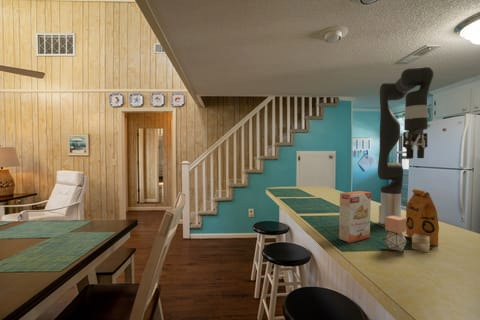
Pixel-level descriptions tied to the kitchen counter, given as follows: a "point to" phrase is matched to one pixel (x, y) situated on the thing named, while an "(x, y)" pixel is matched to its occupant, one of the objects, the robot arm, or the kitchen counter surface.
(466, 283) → the kitchen counter surface
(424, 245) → the birch block
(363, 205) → the cracker box
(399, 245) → the game die
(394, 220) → the terracotta block
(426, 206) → the coffee package
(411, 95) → the robot arm
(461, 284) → the kitchen counter surface
